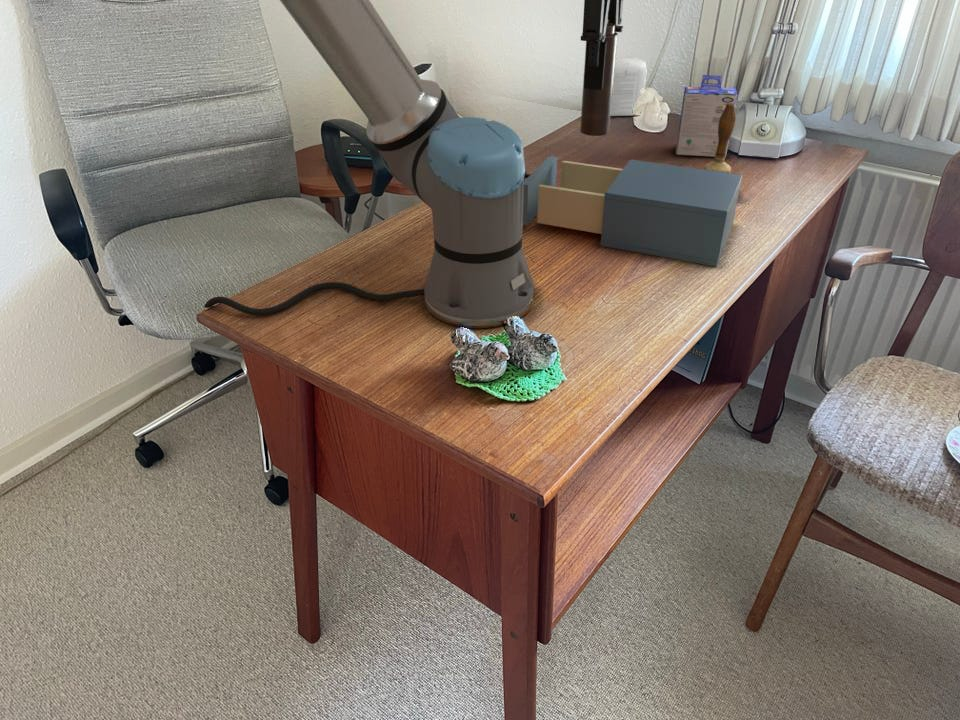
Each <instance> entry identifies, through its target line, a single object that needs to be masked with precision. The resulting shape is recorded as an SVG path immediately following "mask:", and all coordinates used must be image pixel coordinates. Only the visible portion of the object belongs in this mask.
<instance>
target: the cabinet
mask: <svg viewBox="0 0 960 720" xmlns="http://www.w3.org/2000/svg"><path fill="white" fill-rule="evenodd" d="M622 169H623V170H622V172H621V173H620V174H619V175H618V177H617V178H616V179H615V181H614V182H613V183H612V184H611V186H610V187H609V188H608V190H607V191H606V192H605V199H604V210H603V222H602V233H601V234H600V244H599V245H600V246H601V247H604V248H605V247H606V248H611V249H616V250H621V251H628V252H633V253H639V254H645V255H649V256H656V257H661V258H666V259H672V260H677V261H678V260H679V261H683V262H689V263H695V264H699V265H706V266H710V267H717V266H718V264H719V262H720V259H721V256H722V253H723V251H724V249H725V246H726V244H727V241H728V238H729V236H730V233H731V231H732V228H733V224H734V220H735V215H736V211H737V204H738V201H739V200H738V199H739V196H740V190H741V186H742V180H743V174H740V173H732V172H731V173H726V172H718V171H711V170H704V168H703V169H702V168H696V167H688V166H680V165H674V164H673V165H672V164H666V163H659V162H652V161H646V160H645V161H644V160H636V159H629V161H628V162H627V164H626V165H625V166H624V168H622Z"/></svg>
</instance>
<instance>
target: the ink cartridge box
mask: <svg viewBox="0 0 960 720" xmlns="http://www.w3.org/2000/svg"><path fill="white" fill-rule="evenodd" d="M722 77H723V76H722V75H711V74H710V75H709V74H703V75H702V79H701V83H700V86H685V87H684V91H683V97H682V104H681V110H680V111H681V112H680V118H679V127H678V135H677V142H676V147H675V155H676V156H677V155H678V156H694V157H695V156H696V157H710V158H711V157H712V158H715V154H716V150H717V146H718V141H719V137H718V126H719V120H720V117H721V115H722V113H723V111H724V109H725V107H726V105H727V103H733V104H735V106H736V104H737V100H738V99H737V98H738V93H737V89H736V87H722V80H723V79H722ZM709 80H715V81H717V82H716V83H712V82H711V83H710V82H709V83H708V82H705V81H709ZM729 143H730V140H729V141H728V144H727V150H726V153H725V154H726V156H725V158H726V157H727V152H728V148H729Z"/></svg>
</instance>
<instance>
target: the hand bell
mask: <svg viewBox="0 0 960 720" xmlns="http://www.w3.org/2000/svg"><path fill="white" fill-rule="evenodd" d="M736 115H737V114H736V105H735V104H733V103H727V105H726V107H725V109H724V111H723V113H722V115H721V117H720V120H719V126H718V137H719V141H718V146H717V150H716V154H715V157H713V161H709V162H707V163H706V164H704V167H703V169H704V170H711V171H718V172H726V173H732V167H731V166H730V164H728V163H726V162H725V158H726V157H727V154H725V153H726V150H727V151H728V148H727V144H728V145H729V143H728V141H729V142H730V139H731V136H732V135H733V132H734V129H735V126H736V121H737V119H736V118H737V117H736ZM725 156H726V157H725Z"/></svg>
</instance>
